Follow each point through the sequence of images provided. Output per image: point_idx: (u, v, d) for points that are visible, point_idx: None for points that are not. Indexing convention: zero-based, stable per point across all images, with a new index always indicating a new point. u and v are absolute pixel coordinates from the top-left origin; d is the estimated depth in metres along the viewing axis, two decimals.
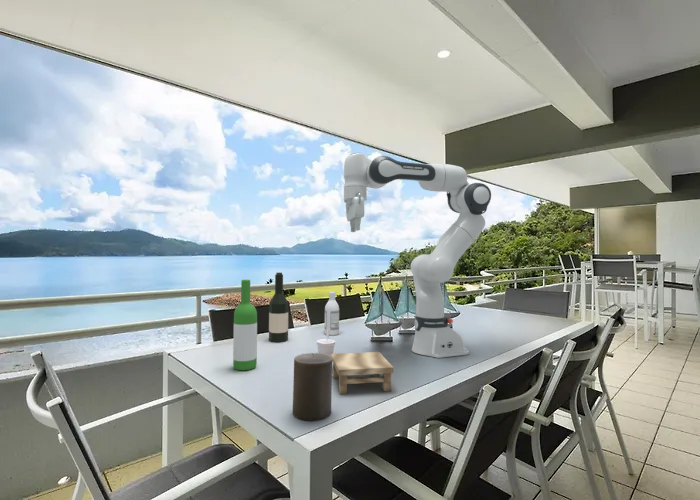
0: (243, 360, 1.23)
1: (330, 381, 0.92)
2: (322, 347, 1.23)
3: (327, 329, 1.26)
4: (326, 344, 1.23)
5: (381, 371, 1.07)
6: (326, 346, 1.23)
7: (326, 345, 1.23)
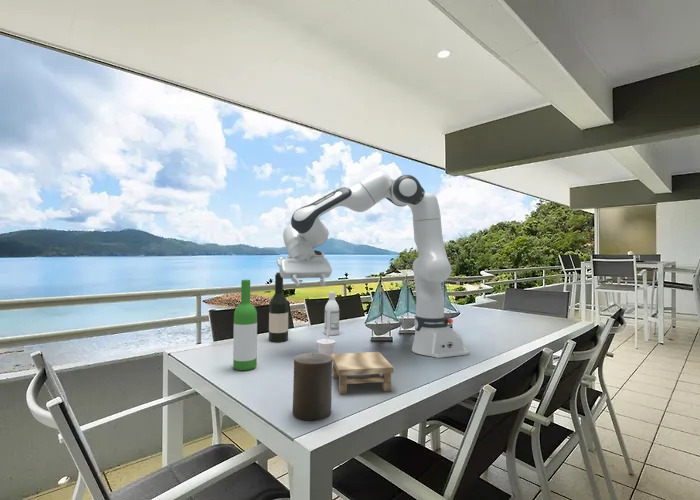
0: (243, 360, 1.23)
1: (330, 381, 0.92)
2: (322, 347, 1.23)
3: (327, 329, 1.26)
4: (326, 344, 1.23)
5: (381, 371, 1.07)
6: (326, 346, 1.23)
7: (326, 345, 1.23)
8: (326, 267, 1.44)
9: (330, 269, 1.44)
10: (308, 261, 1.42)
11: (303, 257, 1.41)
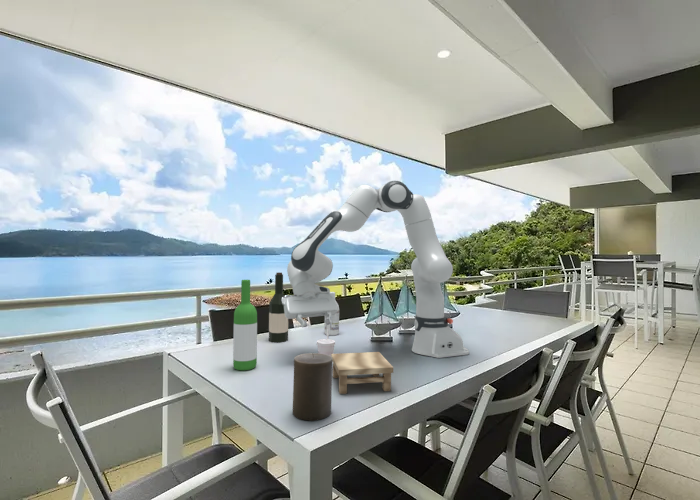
0: (243, 360, 1.23)
1: (330, 381, 0.92)
2: (322, 347, 1.23)
3: (327, 329, 1.26)
4: (326, 344, 1.23)
5: (381, 371, 1.07)
6: (326, 346, 1.23)
7: (326, 345, 1.23)
8: (331, 304, 1.39)
9: (336, 306, 1.39)
10: (313, 299, 1.38)
11: (308, 295, 1.36)
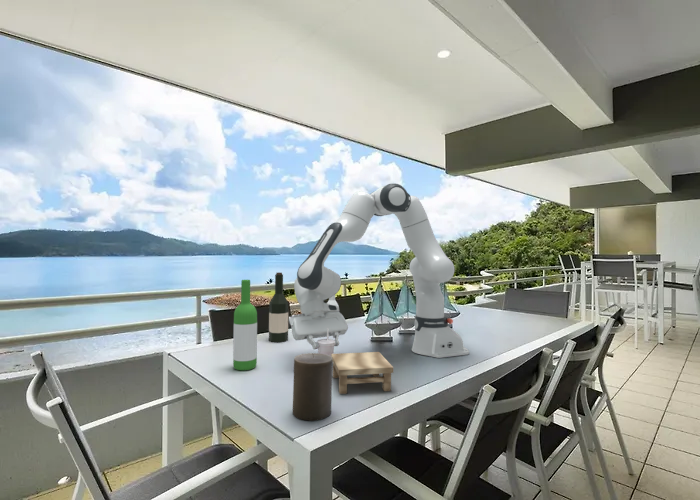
0: (243, 360, 1.23)
1: (330, 381, 0.92)
2: (322, 347, 1.23)
3: (327, 329, 1.26)
4: (326, 344, 1.23)
5: (381, 371, 1.07)
6: (326, 346, 1.23)
7: (326, 345, 1.23)
8: (341, 323, 1.33)
9: (346, 326, 1.33)
10: (322, 318, 1.31)
11: (317, 314, 1.30)
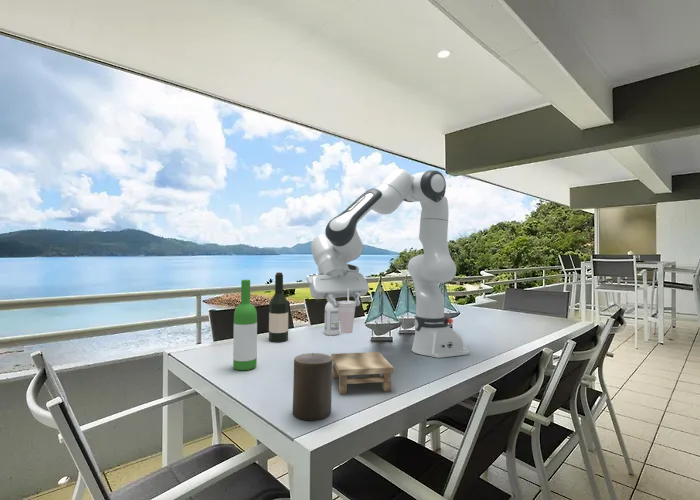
0: (243, 360, 1.23)
1: (330, 381, 0.92)
2: (343, 307, 1.16)
3: (347, 289, 1.18)
4: (347, 304, 1.16)
5: (381, 371, 1.07)
6: (347, 306, 1.16)
7: (347, 305, 1.16)
8: (362, 284, 1.25)
9: (367, 286, 1.25)
10: (342, 277, 1.24)
11: (336, 273, 1.23)
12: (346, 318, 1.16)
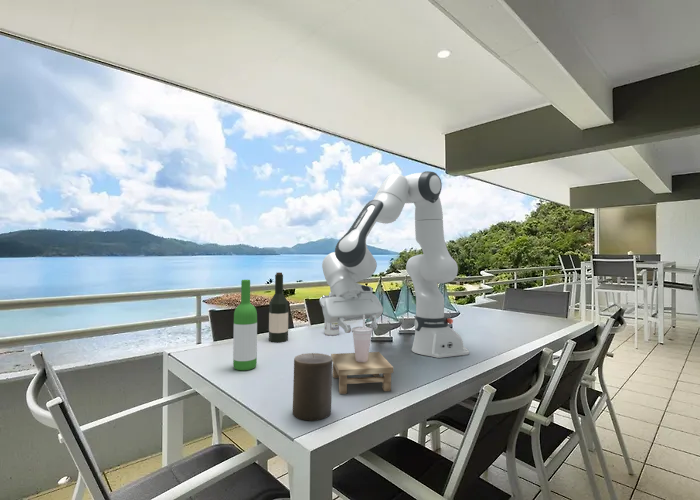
0: (243, 360, 1.23)
1: (330, 381, 0.92)
2: (359, 335, 1.11)
3: (363, 315, 1.13)
4: (363, 332, 1.11)
5: (381, 371, 1.07)
6: (363, 333, 1.11)
7: (363, 333, 1.11)
8: (376, 306, 1.20)
9: (381, 308, 1.20)
10: (355, 299, 1.19)
11: (350, 295, 1.18)
12: (362, 347, 1.11)
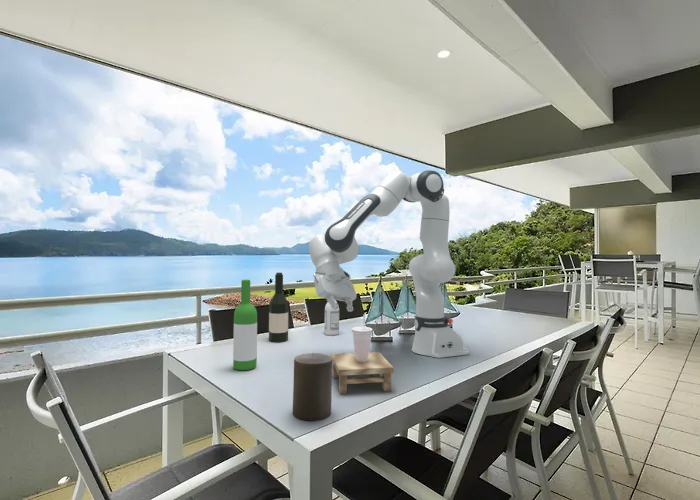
0: (243, 360, 1.23)
1: (330, 381, 0.92)
2: (359, 335, 1.11)
3: (363, 315, 1.13)
4: (363, 332, 1.11)
5: (381, 371, 1.07)
6: (363, 333, 1.11)
7: (363, 333, 1.11)
8: (352, 291, 1.37)
9: (355, 295, 1.37)
10: (339, 282, 1.33)
11: (337, 277, 1.31)
12: (362, 347, 1.11)
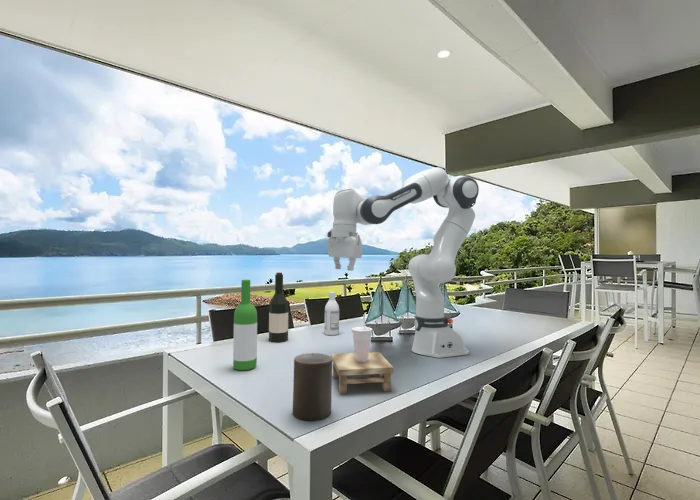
0: (243, 360, 1.23)
1: (330, 381, 0.92)
2: (359, 335, 1.11)
3: (363, 315, 1.13)
4: (363, 332, 1.11)
5: (381, 371, 1.07)
6: (363, 333, 1.11)
7: (363, 333, 1.11)
8: None
9: None
10: None
11: None
12: (362, 347, 1.11)
